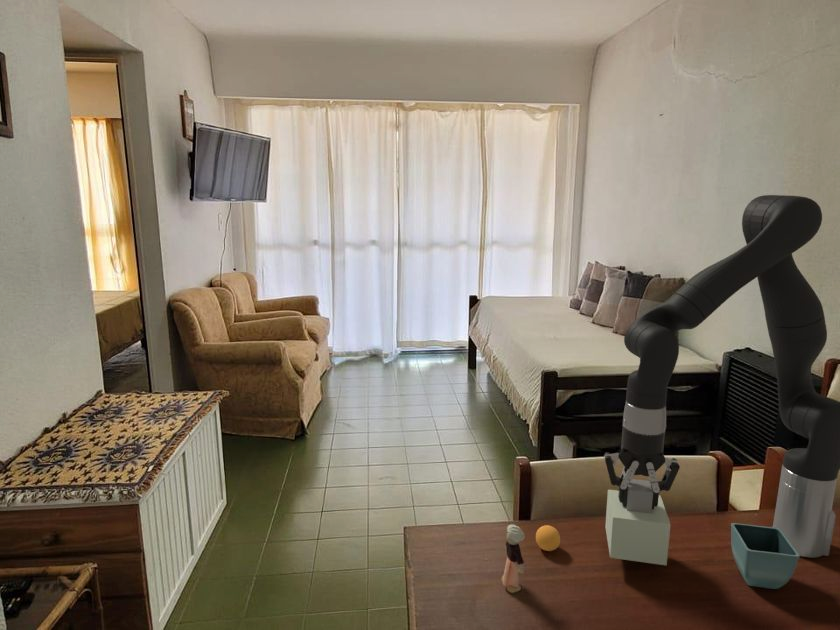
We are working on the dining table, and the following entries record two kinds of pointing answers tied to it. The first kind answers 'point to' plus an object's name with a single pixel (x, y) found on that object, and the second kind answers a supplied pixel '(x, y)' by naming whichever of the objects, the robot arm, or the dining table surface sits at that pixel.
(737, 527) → the flower pot
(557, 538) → the ball
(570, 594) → the dining table surface
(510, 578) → the grandmother figurine
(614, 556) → the pale green cube
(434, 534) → the dining table surface
